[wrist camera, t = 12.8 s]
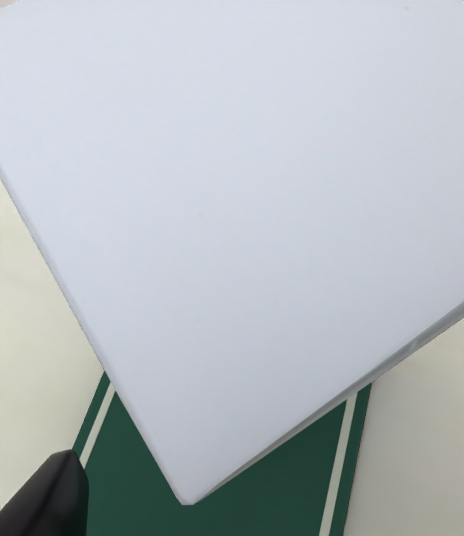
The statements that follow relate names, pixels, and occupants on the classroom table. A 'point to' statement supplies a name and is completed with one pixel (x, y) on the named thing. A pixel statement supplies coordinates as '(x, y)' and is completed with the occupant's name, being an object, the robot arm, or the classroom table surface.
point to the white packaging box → (240, 202)
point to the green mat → (228, 495)
